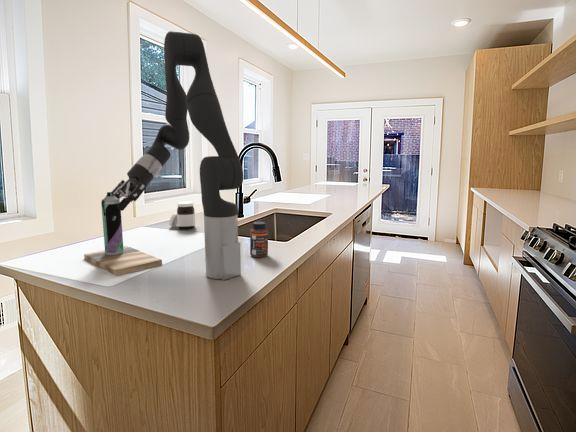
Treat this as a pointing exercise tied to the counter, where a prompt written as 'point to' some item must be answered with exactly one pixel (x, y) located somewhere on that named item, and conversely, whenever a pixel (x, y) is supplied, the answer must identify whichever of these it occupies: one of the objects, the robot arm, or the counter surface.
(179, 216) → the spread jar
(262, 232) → the supplement bottle
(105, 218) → the spray can
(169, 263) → the counter surface
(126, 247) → the plywood panel
